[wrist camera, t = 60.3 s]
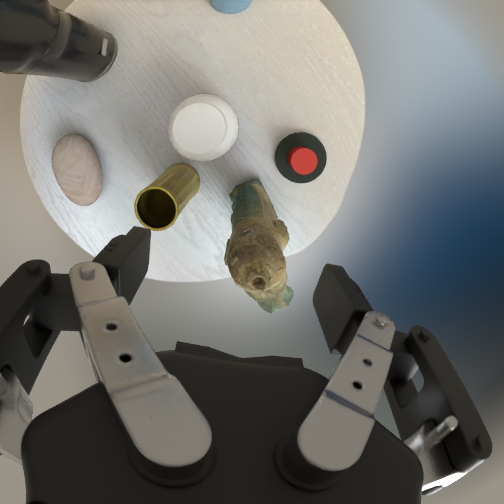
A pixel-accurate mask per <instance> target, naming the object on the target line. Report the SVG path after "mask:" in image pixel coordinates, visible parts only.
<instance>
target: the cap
mask: <svg viewBox="0 0 504 504" xmlns="http://www.w3.org/2000/svg"><path fill="white" fill-rule="evenodd" d="M288 163H289V165H290V167H291V168H292V169H293V170H295V171H296V172H297V173H299V174H303V175H305V174H309V173H311V172H313V171H314V170H315V168H316V166H317V157H316V155H315V153H314V152H313V151H312V150H310V149H308V148H305V147H302V146H298V147H295V148H293V149H292V150H291V151H290V152H289V154H288Z"/></svg>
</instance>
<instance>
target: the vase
mask: <svg viewBox="0 0 504 504" xmlns="http://www.w3.org/2000/svg"><path fill="white" fill-rule="evenodd" d="M199 186H200V180H199V176H198V173H197V172H196V171H195V170H194V169H193V168H192V167H191V166H189V165H187V164H183V163H180V164H174V165H172V166H171V167H169V168H168V169H167V170H166V171H165V172H164V173H163V174H162V175H161V176H160V177H159V178H157V179H156V180H155V181H154V182H153V183H152V184H150V185H149V186H148V187H146V188H145V189H143V190H142V191H141V192H140V193H139V194H138V196H137V198H136V200H135V204H134V208H135V214H136V217H137V219H138V220H139V222H140V223H141V224H142V225H143V226H144V227H146V228H148V229H150V230H153V231H161V230H165V229H167V228H169V227H170V226H172V225H173V224H174V222H175V220H176V219H177V217H178V216H179V214H180V212H181V211H182V210H183V208H184V207H185V205H186V204H187V203H188V201H189V200H190V199H191V198H192V197H193V196H194V195H195V194H196V193H197V191H198V189H199Z"/></svg>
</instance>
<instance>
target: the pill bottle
mask: <svg viewBox="0 0 504 504" xmlns="http://www.w3.org/2000/svg"><path fill="white" fill-rule="evenodd" d="M238 129H239V123H238V118H237V115H236V113H235V111H234V109H233V108H232V107H231V105H230V104H229V103H228V102H227V101H225V100H224V99H222V98H220V97H218V96H215V95H211V94H198V95H194V96H191V97H189V98H187V99H185V100H184V101H183V102H181V103H180V104H179V105H178V106H177V107H176V108H175V110H174V111H173V113H172V115H171V117H170V120H169V126H168V132H169V138H170V141H171V143H172V145H173V146H174V148H175V149H176V150H177V152H179V153H180V154H181V155H182V156H184V157H186V158H188V159H190V160H193V161H199V162H204V161H211V160H214V159H217V158H219V157H221V156H222V155H224V154H225V153H226V152H227V151H228V150H229V149H230V148H231V147H232V146H233V144H234V142H235V140H236V138H237V135H238Z"/></svg>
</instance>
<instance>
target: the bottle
mask: <svg viewBox="0 0 504 504" xmlns="http://www.w3.org/2000/svg"><path fill="white" fill-rule="evenodd" d="M251 1H252V0H210V2H211V5H212V6H213V8H214V9H216V10H217V11H219V12H222V13H228V14H232V13H238V12H241V11H243V10H244V9H246V8H247V7H248V6H249V5H250V3H251Z"/></svg>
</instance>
